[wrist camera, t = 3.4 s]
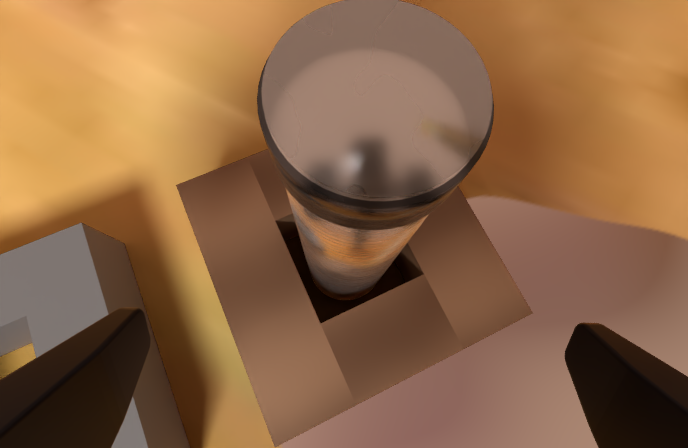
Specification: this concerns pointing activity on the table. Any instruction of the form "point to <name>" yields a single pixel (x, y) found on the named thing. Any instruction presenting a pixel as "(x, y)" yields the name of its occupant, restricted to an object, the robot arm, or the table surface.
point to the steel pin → (370, 130)
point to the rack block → (85, 318)
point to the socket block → (353, 325)
